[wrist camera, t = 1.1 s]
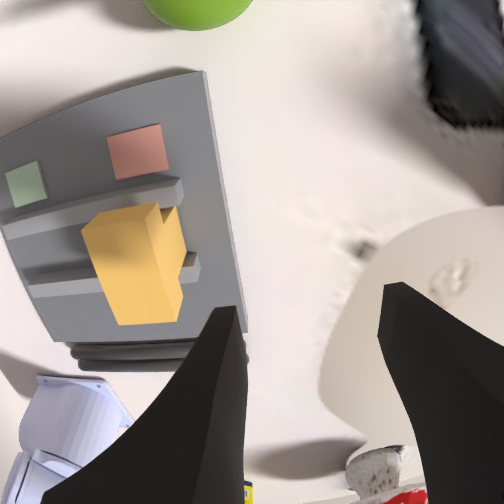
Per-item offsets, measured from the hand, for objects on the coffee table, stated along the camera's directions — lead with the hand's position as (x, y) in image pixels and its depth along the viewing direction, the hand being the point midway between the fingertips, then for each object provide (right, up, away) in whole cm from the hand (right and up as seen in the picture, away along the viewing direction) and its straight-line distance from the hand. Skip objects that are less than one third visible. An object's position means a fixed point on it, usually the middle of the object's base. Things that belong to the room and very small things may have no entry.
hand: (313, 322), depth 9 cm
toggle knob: (-7, +3, +8) cm, 11 cm away
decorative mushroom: (+15, -26, +26) cm, 40 cm away
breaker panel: (-11, +2, +11) cm, 15 cm away
